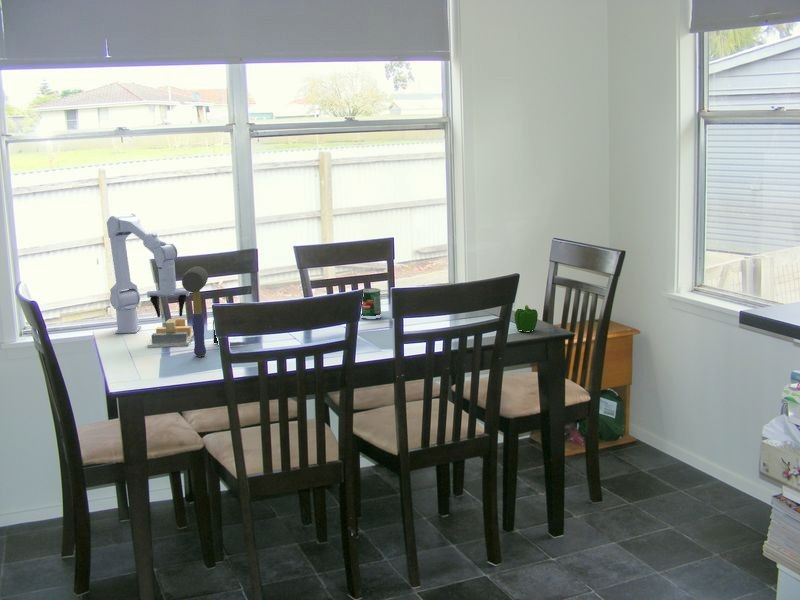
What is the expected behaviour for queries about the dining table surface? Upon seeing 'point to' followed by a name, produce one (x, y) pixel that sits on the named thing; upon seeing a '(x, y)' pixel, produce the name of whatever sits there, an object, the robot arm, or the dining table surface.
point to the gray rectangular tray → (170, 339)
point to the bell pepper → (526, 319)
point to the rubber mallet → (196, 304)
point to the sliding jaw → (179, 327)
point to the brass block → (170, 326)
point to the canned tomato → (371, 302)
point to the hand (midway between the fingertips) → (170, 316)
